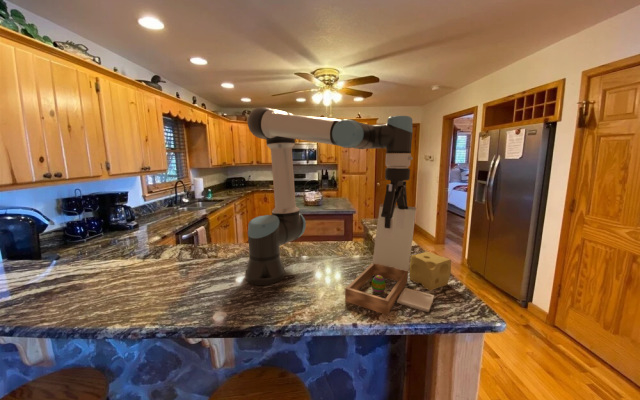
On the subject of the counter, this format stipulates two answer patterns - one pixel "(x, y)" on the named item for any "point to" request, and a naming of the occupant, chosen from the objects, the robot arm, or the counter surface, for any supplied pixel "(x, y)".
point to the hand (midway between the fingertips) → (394, 232)
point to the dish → (416, 299)
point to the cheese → (430, 270)
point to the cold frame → (371, 300)
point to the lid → (395, 241)
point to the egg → (378, 284)
